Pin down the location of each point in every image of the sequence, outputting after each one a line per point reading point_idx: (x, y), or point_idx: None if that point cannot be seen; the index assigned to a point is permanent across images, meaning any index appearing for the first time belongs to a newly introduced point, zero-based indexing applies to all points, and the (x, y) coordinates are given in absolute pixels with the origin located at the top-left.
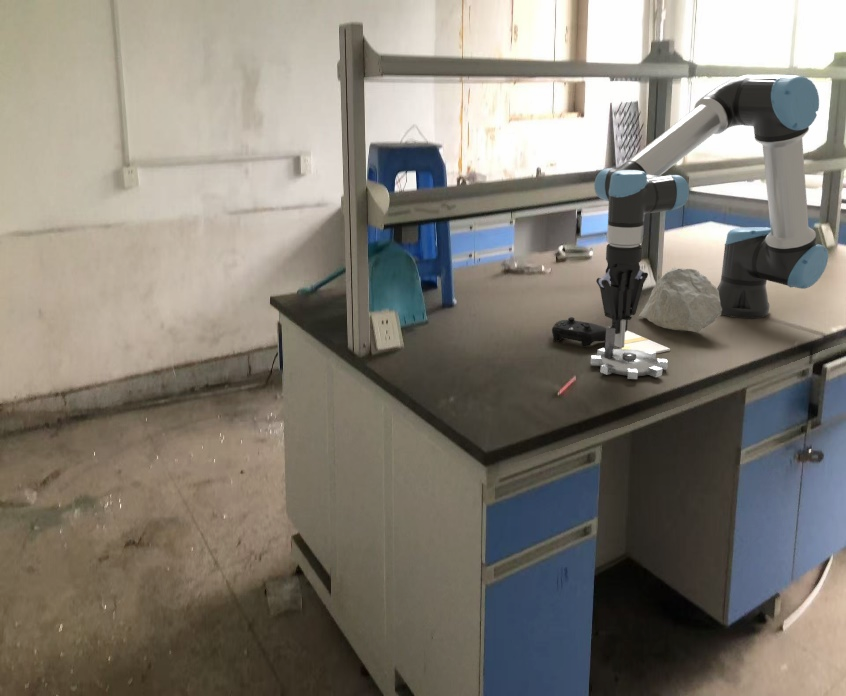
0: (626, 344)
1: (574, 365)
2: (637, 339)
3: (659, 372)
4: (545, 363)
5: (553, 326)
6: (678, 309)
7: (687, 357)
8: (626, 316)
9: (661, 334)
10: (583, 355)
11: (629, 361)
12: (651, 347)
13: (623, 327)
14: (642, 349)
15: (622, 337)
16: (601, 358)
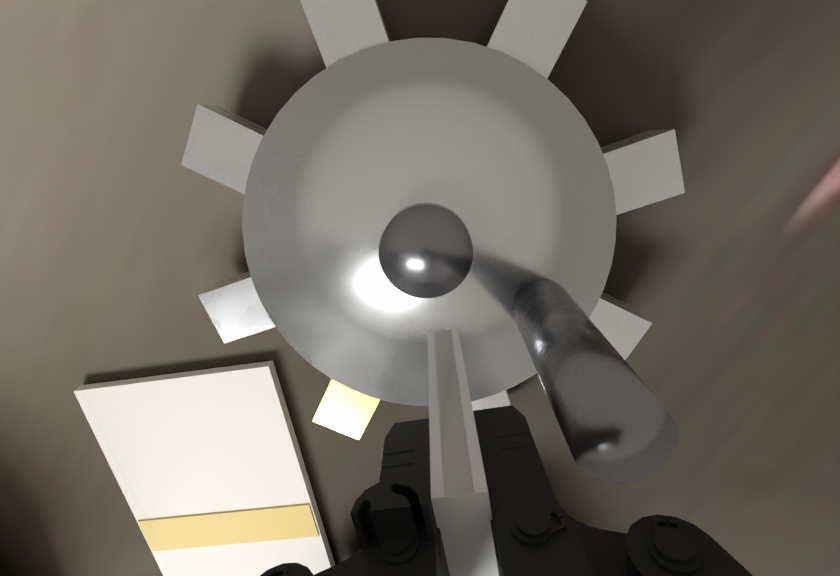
0: (275, 499)
1: (686, 354)
2: (191, 533)
3: None
4: (807, 420)
5: None
6: None
7: (20, 277)
8: (417, 546)
9: (46, 562)
10: (549, 454)
11: (458, 192)
12: (166, 432)
13: (454, 432)
14: (225, 423)
15: (454, 370)
16: (598, 300)
